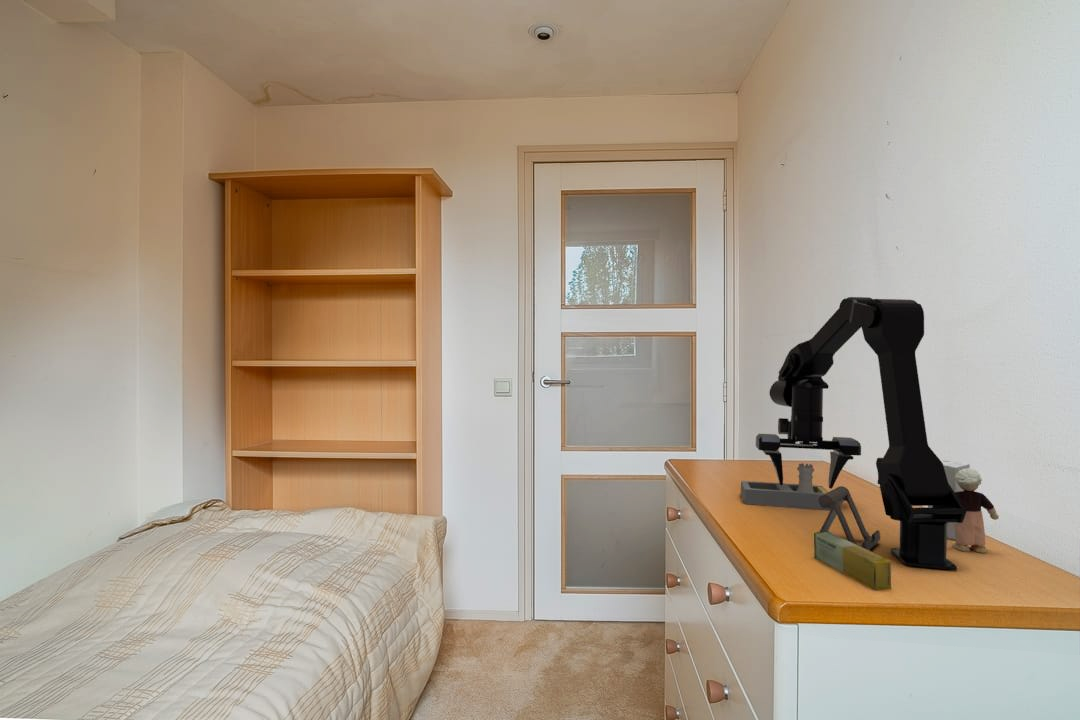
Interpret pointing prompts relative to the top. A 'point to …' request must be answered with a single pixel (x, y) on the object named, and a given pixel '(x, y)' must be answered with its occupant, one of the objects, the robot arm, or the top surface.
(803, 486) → the rook chess piece
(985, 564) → the top surface
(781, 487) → the rail
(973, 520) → the grandmother figurine
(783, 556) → the top surface
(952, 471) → the skincare box
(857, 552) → the medication box
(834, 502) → the portable electronic device stand
